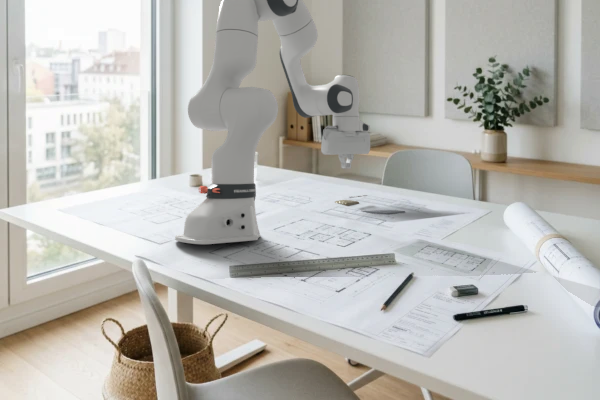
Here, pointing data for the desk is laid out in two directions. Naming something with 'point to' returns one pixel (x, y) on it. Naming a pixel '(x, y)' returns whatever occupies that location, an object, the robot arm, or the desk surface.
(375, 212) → the felt pad
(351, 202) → the cuneiform tablet
